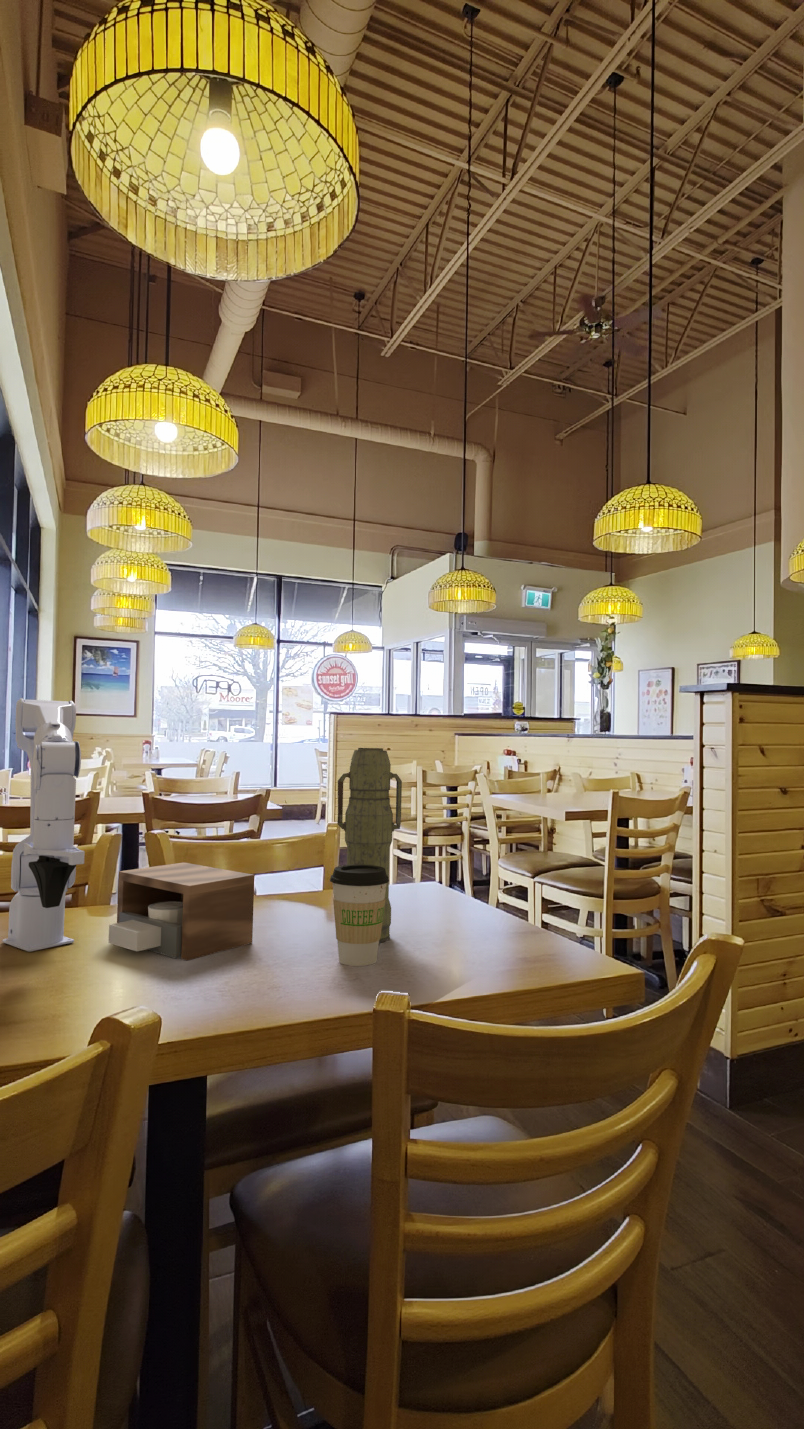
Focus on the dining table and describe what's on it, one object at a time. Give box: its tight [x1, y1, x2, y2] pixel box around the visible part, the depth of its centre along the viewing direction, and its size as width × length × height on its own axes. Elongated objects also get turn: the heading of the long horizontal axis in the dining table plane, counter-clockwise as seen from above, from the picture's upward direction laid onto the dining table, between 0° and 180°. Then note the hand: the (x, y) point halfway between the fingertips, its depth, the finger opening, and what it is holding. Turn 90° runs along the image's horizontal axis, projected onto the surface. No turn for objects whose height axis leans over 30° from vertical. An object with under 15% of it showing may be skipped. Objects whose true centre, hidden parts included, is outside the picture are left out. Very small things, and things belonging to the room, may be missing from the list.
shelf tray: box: [108, 911, 182, 959], centre depth 126 cm, size 16×18×5 cm
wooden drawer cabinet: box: [116, 862, 255, 961], centre depth 129 cm, size 20×14×12 cm
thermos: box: [336, 747, 403, 944], centre depth 135 cm, size 9×12×35 cm
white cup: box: [148, 901, 183, 925], centre depth 126 cm, size 7×7×7 cm
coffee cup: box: [329, 864, 390, 967], centre depth 120 cm, size 10×10×15 cm
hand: (50, 906), depth 113 cm, fingers closed
